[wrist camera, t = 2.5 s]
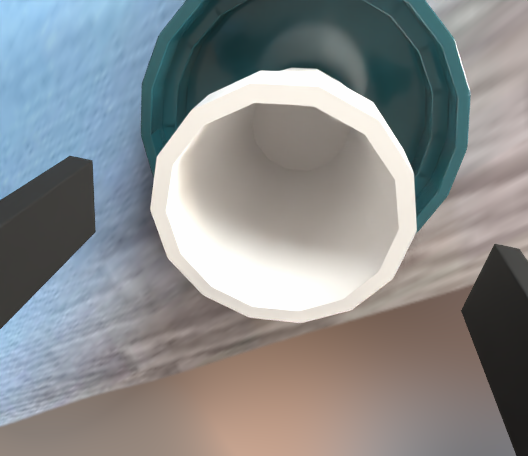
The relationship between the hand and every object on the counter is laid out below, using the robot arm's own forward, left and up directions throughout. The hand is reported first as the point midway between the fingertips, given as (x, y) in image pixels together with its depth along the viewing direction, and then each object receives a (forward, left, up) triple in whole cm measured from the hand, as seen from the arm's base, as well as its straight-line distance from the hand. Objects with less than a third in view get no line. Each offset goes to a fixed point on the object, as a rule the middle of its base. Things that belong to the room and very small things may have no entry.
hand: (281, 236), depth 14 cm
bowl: (0, 0, -15) cm, 15 cm away
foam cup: (0, 0, -14) cm, 14 cm away
